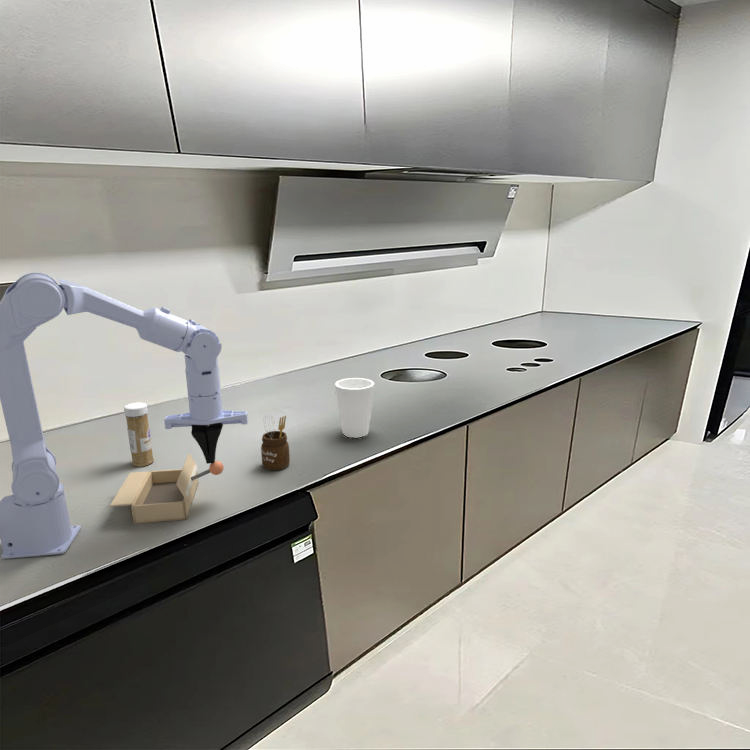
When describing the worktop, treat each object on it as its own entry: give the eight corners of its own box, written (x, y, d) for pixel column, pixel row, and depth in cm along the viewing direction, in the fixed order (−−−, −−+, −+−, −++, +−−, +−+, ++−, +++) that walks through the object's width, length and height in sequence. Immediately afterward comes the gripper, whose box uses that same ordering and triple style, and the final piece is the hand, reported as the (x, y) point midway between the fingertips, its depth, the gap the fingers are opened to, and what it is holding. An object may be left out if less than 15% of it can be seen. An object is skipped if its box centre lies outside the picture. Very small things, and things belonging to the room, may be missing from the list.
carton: (112, 525, 97) (109, 506, 96) (133, 488, 111) (130, 471, 110) (186, 519, 99) (184, 501, 98) (198, 483, 112) (196, 466, 111)
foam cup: (328, 433, 138) (327, 383, 134) (357, 423, 144) (356, 375, 140) (353, 444, 131) (352, 392, 127) (382, 434, 137) (382, 383, 133)
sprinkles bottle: (154, 465, 121) (147, 406, 117) (131, 469, 119) (123, 409, 115) (153, 457, 125) (146, 400, 121) (131, 460, 123) (123, 403, 119)
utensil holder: (277, 456, 125) (274, 406, 121) (296, 464, 121) (294, 412, 117) (256, 465, 120) (252, 413, 117) (275, 474, 116) (272, 420, 113)
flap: (176, 484, 98) (211, 468, 98) (188, 454, 110) (220, 440, 110) (187, 502, 99) (222, 486, 99) (197, 470, 111) (229, 456, 111)
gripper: (246, 383, 105) (251, 449, 109) (167, 387, 103) (174, 454, 107) (244, 395, 99) (249, 465, 102) (158, 399, 97) (167, 471, 100)
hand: (210, 461), depth 104 cm, fingers closed
